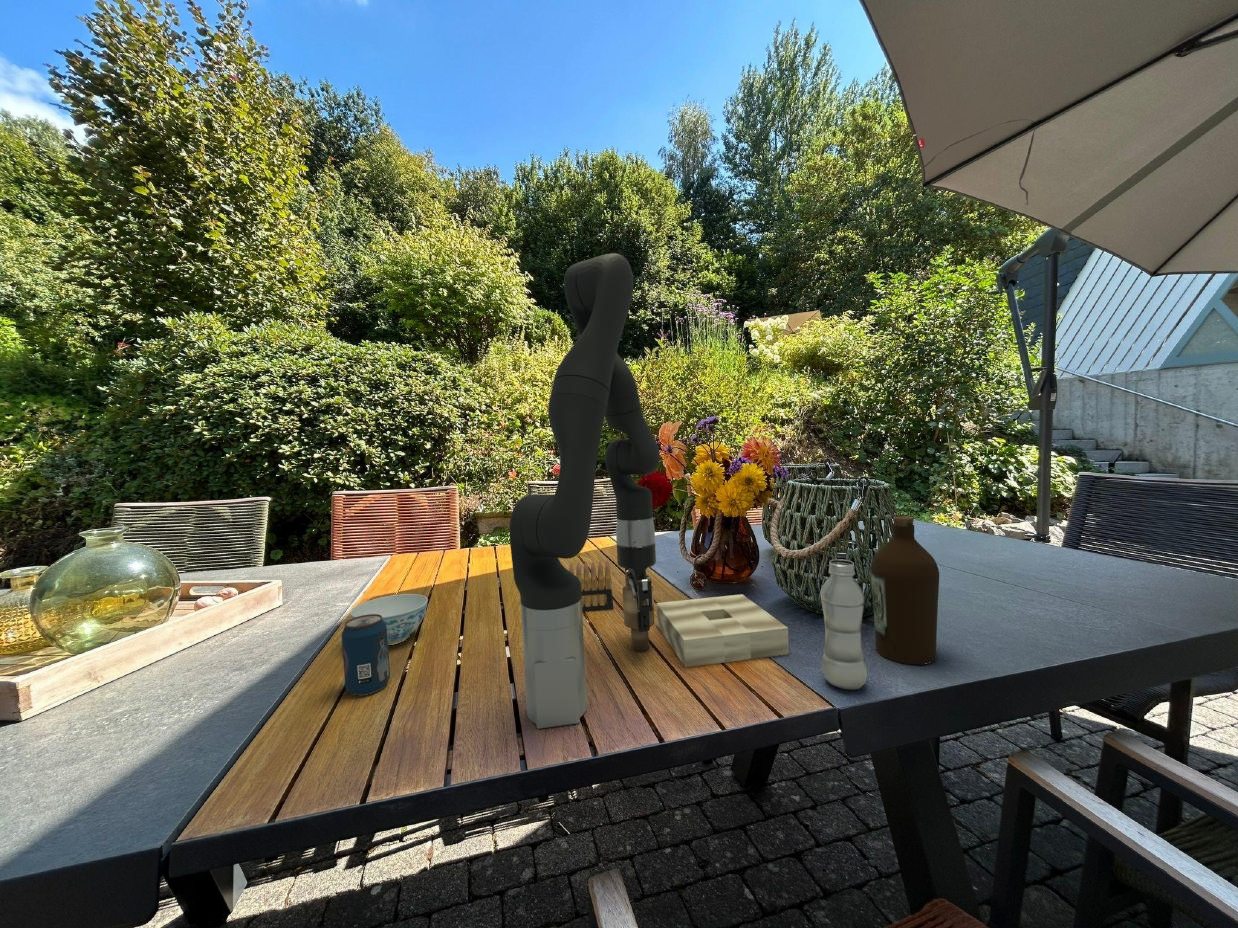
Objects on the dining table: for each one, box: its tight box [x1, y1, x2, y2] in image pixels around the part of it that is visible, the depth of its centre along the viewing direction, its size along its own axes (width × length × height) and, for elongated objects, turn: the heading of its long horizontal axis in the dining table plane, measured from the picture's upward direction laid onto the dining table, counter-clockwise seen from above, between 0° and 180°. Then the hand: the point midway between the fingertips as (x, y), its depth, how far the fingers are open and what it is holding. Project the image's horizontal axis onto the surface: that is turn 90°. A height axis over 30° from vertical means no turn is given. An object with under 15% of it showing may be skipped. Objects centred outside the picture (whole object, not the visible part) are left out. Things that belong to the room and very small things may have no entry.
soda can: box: [341, 614, 391, 696], centre depth 83 cm, size 7×7×12 cm
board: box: [656, 594, 790, 668], centre depth 97 cm, size 20×20×5 cm
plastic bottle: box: [820, 559, 868, 691], centre depth 77 cm, size 6×7×20 cm
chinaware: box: [349, 593, 429, 644], centre depth 103 cm, size 15×15×8 cm
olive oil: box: [870, 515, 940, 665], centre depth 86 cm, size 11×11×25 cm
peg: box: [622, 584, 656, 653], centre depth 94 cm, size 6×6×12 cm
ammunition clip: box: [568, 560, 614, 613], centre depth 116 cm, size 11×2×12 cm, turn 96°
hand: (639, 622), depth 94 cm, fingers open, 8 cm apart
